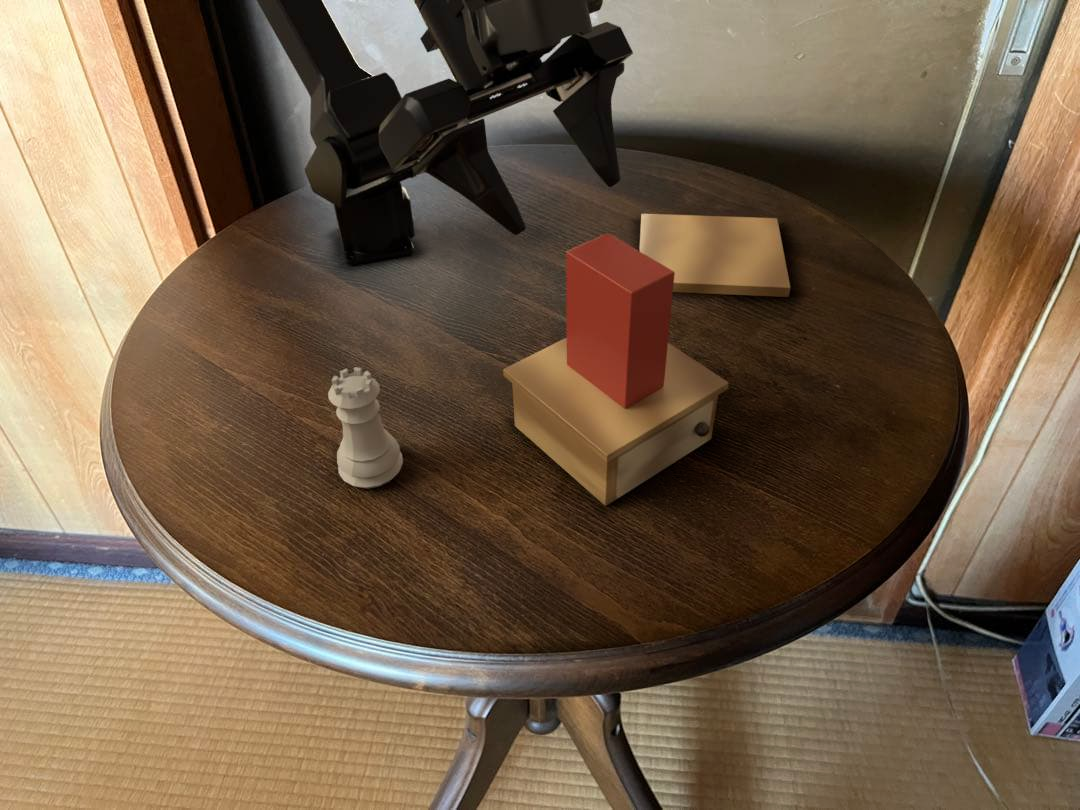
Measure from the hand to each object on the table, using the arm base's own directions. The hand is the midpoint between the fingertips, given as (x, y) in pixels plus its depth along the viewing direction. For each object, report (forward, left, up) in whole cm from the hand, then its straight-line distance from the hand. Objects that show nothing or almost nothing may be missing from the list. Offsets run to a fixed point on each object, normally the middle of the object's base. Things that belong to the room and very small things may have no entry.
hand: (569, 207), depth 57 cm
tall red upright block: (0, -9, -8) cm, 12 cm away
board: (+17, +10, -14) cm, 24 cm away
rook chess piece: (-17, -7, -14) cm, 23 cm away
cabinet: (0, -9, -14) cm, 16 cm away
